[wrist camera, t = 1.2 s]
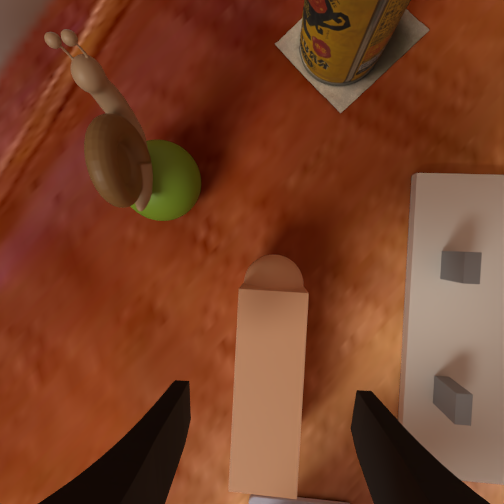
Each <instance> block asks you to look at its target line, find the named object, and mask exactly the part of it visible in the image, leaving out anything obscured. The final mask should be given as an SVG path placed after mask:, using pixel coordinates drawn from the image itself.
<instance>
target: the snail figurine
mask: <svg viewBox="0 0 504 504" xmlns="http://www.w3.org/2000/svg"><path fill="white" fill-rule="evenodd" d="M44 38H45V41H46V43H47V44H48V45H49V46H50V47H51V48H54V49H58V48H62V49H63V50H64V51H65V52H66V53H67V54H68V56H69V57H70V58H71V59H72V63H71V73H72V76H73V79H74V80H75V82H76V83H77V85H78V86H79V87H80V88H82V89H83V90H84V91H86V92H89V93H90V94H91V95H92V96H93V97H94V99H95V100H96V101H97V103H98V104H99V105H100V107H101V108H102V109H103V110H104V111H105V113H106V114H102V115H99V116H98V117H96V118H95V119H93V121H92V122H91V123H90V125H89V126H88V128H87V131H86V134H85V141H84V153H85V160H86V165H87V169H88V172H89V175H90V178H91V180H92V182H93V184H94V186H95V188H96V189H97V191H98V192H99V194H100V195H101V196H102V197H103V198H104V199H105V200H106V201H107V202H109V203H110V204H112V205H114V206H116V207H122V208H124V207H129V206H131V207H132V208H133V209H134V210H135V211H136V212H138V213H139V214H141V215H143V216H145V217H147V218H150V219H153V220H159V221H167V220H173V219H176V218H179V217H181V216H183V215H184V214H186V213H187V212H188V211H189V210H191V208H192V207H193V206H194V205H195V203H196V202H197V200H198V197H199V195H200V191H201V176H200V172H199V169H198V166H197V164H196V162H195V161H194V159H193V158H192V156H191V155H190V154H189V153H188V152H187V151H186V150H185V149H183V148H182V147H180V146H179V145H177V144H175V143H172V142H169V141H165V140H149V141H146V138H145V134H144V132H143V129H142V127H141V125H140V124H139V122H138V120H137V118H136V116H135V114H134V113H133V111H132V109H131V108H130V106H129V104H128V103H127V101H126V100H125V98H124V97H123V96H122V94H121V93H120V92H119V90H118V89H117V88H116V87H115V86H114V85H113V84H112V83H111V82H110V81H109V80H108V78H107V77H106V75H105V73H104V71H103V69H102V67H101V65H100V64H99V63H98V62H97V61H96V60H95V59H94V58H92V57H91V56H89V55H87V54H86V52H85V51H84V50H83V49H82V48H81V47H80V46H79V45H78V44H77V42H78V38H77V36H76V34H75V33H74V32H73V31H71V30H68V29H65V30H63V31H62V32H61V38H62V40H63V42H64V43H65V44H67V45H68V46H75V45H77V46H78V47H79V48H80V49H81V51H82V52H83V53H84V54H80V55H77V56H76V57H75V58H73V57H72V56H71V55H70V54H69V53H68V52H67V51H66V50H65V49H64V48H63V47H62V46H61V44H62V42H61V39H60V37H59V36H58V35H57V34H56V33H53V32H47V33H46V34H45V36H44Z"/></svg>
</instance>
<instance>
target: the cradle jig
mask: <svg viewBox="0 0 504 504" xmlns="http://www.w3.org/2000/svg"><path fill="white" fill-rule="evenodd" d="M398 421H399V422H400V423H401V424H402V425H403V426H404V427H405V428H406V430H407V431H408V432H409V433H410V434H411V435H412V436H413V437H414V438H415V439H416V440H417V441H418V442H419V443H420V444H421V445H422V446H423V447H424V448H425V449H426V450H427V451H429V452H430V453H431V454H432V455H433V456H434V457H435V458H436V459H437V460H438V461H439V462H440V463H441V464H442V465H444V466H445V467H446V468H447V469H448V470H449V471H450V472H452V473H453V474H454V475H455V476H456V477H457V478H459V479H460V480H461V481H471V482H481V483H491V484H501V485H504V175H493V174H448V173H416V174H414V175H412V177H411V195H410V213H409V231H408V249H407V267H406V285H405V303H404V320H403V338H402V356H401V374H400V392H399V410H398Z"/></svg>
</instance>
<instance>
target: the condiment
mask: <svg viewBox="0 0 504 504" xmlns="http://www.w3.org/2000/svg"><path fill="white" fill-rule="evenodd" d="M410 1H411V0H305V1H304V7H303V16H302V19H301V20H300V21H299V22H298V23H297V24H296V25H295V26H294V27H293V28H292V29H290V30H289V31H288V32H287V33H286V35H284V36H283V37H282V38H281V39H280V40H279V41H278V42H276V43H275V45H276V46H277V47H278V48H279V49H280V50H281V51H282V52H283V54H284V55H285V56H286V57H287V58H288V59H289V60H290V61H291V62H292V64H293V65H294V66H295V67H296V68H297V69H298V70H299V71H300V72H301V73H302V74H303V75H304V76H305V78H306V79H307V80H309V81H310V83H311V84H312V85H313V86H314V87H315V88H316V89H317V90H318V91H319V92H320V93H321V94H322V95H323V96H324V97H325V98H327V99H328V101H329V102H330V103H331V104H332V105H333V106H334V107H335V108H336V109H337V110H338V111H339V112H340V113H341V112H343V111H344V110H345V109H346V108H347V107H348V106H349V105H350V104H351V103H352V102H353V101H354V100H356V99H357V98H358V97H359V96H360V95H361V94H362V93H363V92H364V91H365V90H366V89H367V88H369V87H370V86H371V85H372V84H373V83H374V82H375V81H376V80H377V79H378V78H379V77H380V76H381V75H382V74H383V73H384V72H386V71H387V70H388V69H389V68H390V67H391V66H392V65H393V64H394V63H395V62H396V61H397V60H398V59H399V58H400V57H401V56H402V55H404V54H405V53H406V52H407V51H408V50H409V49H410V48H411V47H412V46H413V45H414V44H415V43H416V42H417V41H418V40H419V39H420V38H421V37H423V36H424V35H425V34H426V33H427V32H428V31H429V29H428V28H427V27H426V26H425V25H424V24H423V23H421V22H419V21H418V20H417V19H416V18H415V17H414V16H413V15H412V14H411V13H410V12H409V11H408V10H407V9H406V8H407V6H408V4H409V2H410Z"/></svg>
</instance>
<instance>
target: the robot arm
mask: <svg viewBox="0 0 504 504" xmlns="http://www.w3.org/2000/svg"><path fill="white" fill-rule="evenodd" d="M190 420H191V415H190V389H189V381H177V380H175V381H174V382H173V383H172V384H171V385H170V387H169V388H168V389H167V390H166V392H165V393H164V394H163V395H162V396H161V397H160V399H159V400H158V401H157V402H156V403H155V404H154V406H153V407H152V408H151V409H150V410H149V411H148V412H147V413H146V414H145V415H144V417H143V418H142V419H141V420H140V421H139V422H138V423H137V424H136V425H135V426H134V427H133V428H132V429H131V430H130V431H129V432H128V433H127V434H126V435H125V436H124V437H123V438H122V439H121V440H120V441H119V442H118V443H117V444H115V445H114V446H113V447H112V448H111V449H110V450H109V451H108V452H106V453H105V454H104V455H103V456H102V457H101V458H100V459H98V460H97V461H96V462H95V463H93V464H92V465H91V466H90V467H88V468H87V469H86V470H85V471H83V472H82V473H81V474H80V475H78V476H77V477H76V478H74V479H73V480H72V481H70V482H69V483H68V484H66V485H65V486H63V487H62V488H60V489H59V490H58V491H56V492H55V493H53V494H52V495H50V496H49V497H47V498H46V499H44V500H43V501H41V502H40V503H38V504H165V502H166V499H167V496H168V493H169V490H170V487H171V484H172V481H173V478H174V475H175V472H176V470H177V467H178V464H179V461H180V458H181V455H182V452H183V449H184V446H185V442H186V438H187V433H188V429H189V424H190ZM351 432H352V436H353V440H354V445H355V449H356V453H357V456H358V459H359V462H360V465H361V468H362V471H363V474H364V477H365V480H366V482H367V485H368V488H369V491H370V494H371V497H372V499H373V502H374V504H490V503H489V502H487V501H486V500H485V499H483V498H482V497H481V496H479V495H478V494H477V493H476V492H474V491H473V490H472V489H471V488H469V487H468V486H467V485H466V484H464V483H463V482H462V481H461V480H460V479H459V478H457V477H456V476H455V475H454V474H453V473H452V472H450V471H449V470H448V469H447V468H446V467H445V466H444V465H442V464H441V463H440V462H439V461H438V460H437V459H436V458H435V457H434V456H433V455H432V454H431V453H430V452H429V451H427V450H426V449H425V448H424V447H423V446H422V445H421V444H420V443H419V442H418V441H417V440H416V439H415V438H414V437H413V436H412V435H411V434H410V433H409V432H408V431H407V430H406V428H405V427H404V426H403V425H402V424H401V423H400V422H399V421H398V420H397V419H396V418H395V417H394V416H393V414H392V413H391V412H390V411H389V410H388V409H387V408H386V407H385V406H384V405H383V403H382V402H381V401H380V400H379V399H378V398H377V397H376V396H375V395H374V393H373V392H372V391H360V390H357V392H356V399H355V405H354V411H353V418H352V424H351ZM249 504H350V503H347V502H338V501H329V500H320V499H310V498H301V497H297V499H289V498H281V497H272V496H264V495H255V494H251V495H250V497H249Z"/></svg>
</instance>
